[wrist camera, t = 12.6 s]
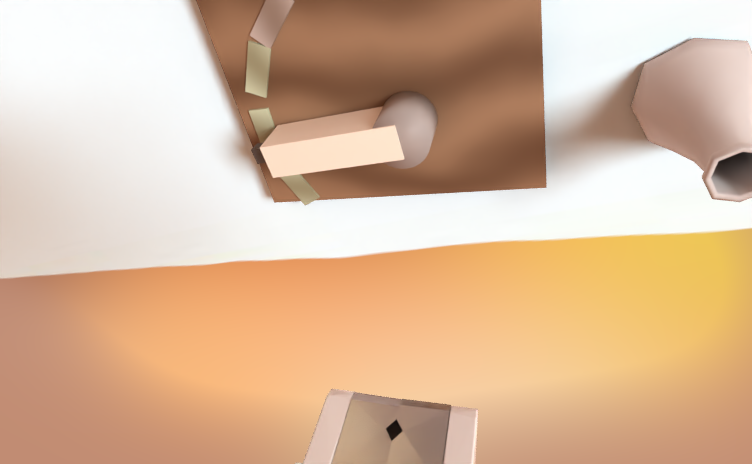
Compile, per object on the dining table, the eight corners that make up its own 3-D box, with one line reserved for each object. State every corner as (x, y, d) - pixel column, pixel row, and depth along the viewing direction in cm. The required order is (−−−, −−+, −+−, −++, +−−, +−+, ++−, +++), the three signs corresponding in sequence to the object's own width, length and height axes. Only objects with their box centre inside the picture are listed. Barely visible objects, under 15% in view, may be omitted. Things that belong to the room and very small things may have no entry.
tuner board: (191, -47, 35) (178, -41, 34) (537, -126, 28) (537, -123, 27) (282, 195, 46) (274, 207, 45) (546, 180, 39) (546, 192, 38)
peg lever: (430, 86, 35) (422, 109, 32) (443, 139, 37) (436, 165, 34) (256, 118, 40) (235, 141, 37) (276, 164, 42) (258, 188, 39)
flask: (633, 152, 37) (660, 242, 29) (626, 51, 33) (655, 124, 25) (757, 131, 34) (823, 224, 26) (765, 19, 30) (845, 89, 22)
